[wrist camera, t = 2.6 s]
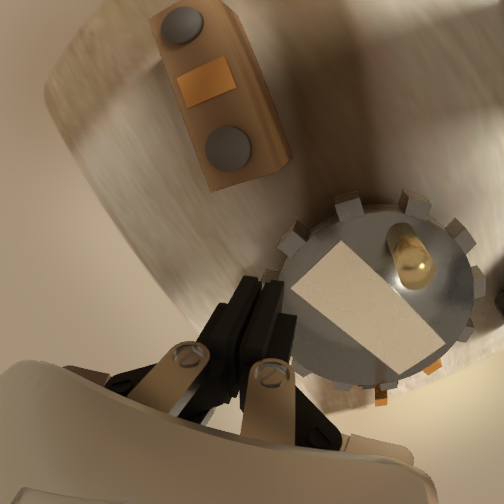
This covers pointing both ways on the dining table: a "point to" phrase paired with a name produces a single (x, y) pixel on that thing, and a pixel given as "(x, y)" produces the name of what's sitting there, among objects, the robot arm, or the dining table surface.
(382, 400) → the sprocket stand
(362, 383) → the sprocket
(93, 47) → the dining table surface
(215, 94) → the tan block with disc
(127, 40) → the dining table surface
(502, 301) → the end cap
